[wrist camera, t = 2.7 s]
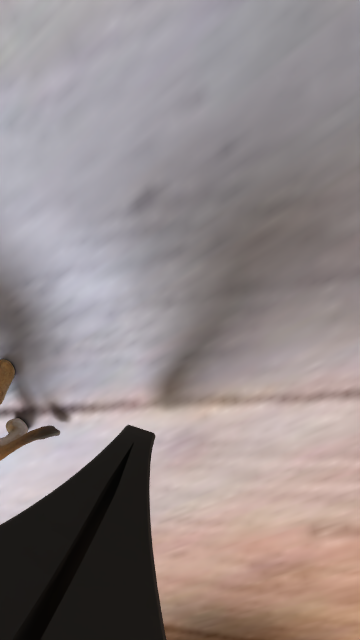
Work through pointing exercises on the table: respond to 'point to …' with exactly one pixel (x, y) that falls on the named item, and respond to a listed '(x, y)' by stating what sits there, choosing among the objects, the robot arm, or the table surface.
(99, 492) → the robot arm
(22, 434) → the lion figurine
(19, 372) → the table surface
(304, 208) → the table surface
